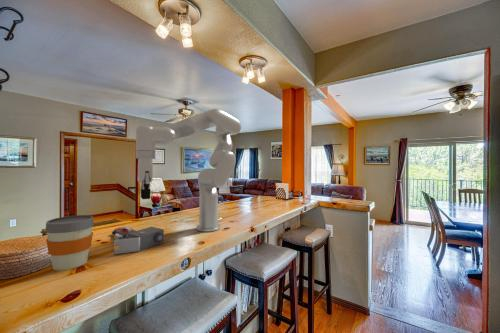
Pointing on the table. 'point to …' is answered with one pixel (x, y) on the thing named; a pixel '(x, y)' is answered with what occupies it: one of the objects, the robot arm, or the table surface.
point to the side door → (126, 245)
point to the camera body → (148, 237)
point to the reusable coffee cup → (69, 240)
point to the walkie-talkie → (122, 232)
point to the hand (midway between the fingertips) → (145, 197)
